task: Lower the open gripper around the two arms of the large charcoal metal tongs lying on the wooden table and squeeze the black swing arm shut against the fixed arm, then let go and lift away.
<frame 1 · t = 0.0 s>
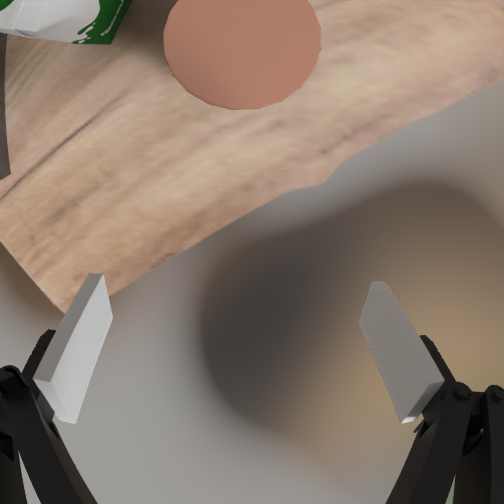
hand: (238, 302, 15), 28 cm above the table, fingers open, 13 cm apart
coffee jar: (237, 58, 33), on the table
milk carton: (99, 16, 28), on the table
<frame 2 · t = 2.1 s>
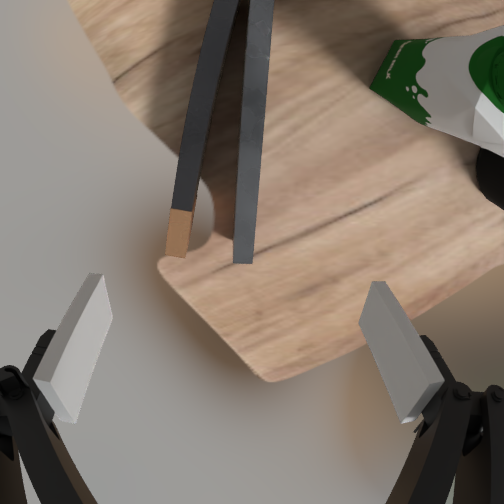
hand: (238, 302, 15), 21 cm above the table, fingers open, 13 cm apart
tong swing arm: (199, 121, 28), point 3 cm above the table, hinge at -9.0°
coffee jar: (496, 164, 34), on the table
milk carton: (405, 81, 29), on the table
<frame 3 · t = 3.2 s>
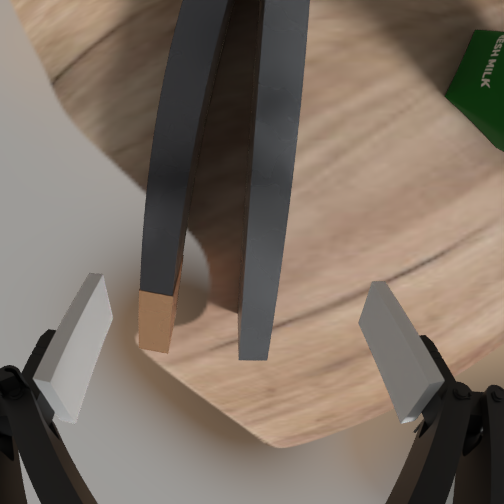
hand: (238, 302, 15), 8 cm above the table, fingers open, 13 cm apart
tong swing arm: (179, 145, 16), point 3 cm above the table, hinge at -9.0°
milk carton: (487, 90, 17), on the table
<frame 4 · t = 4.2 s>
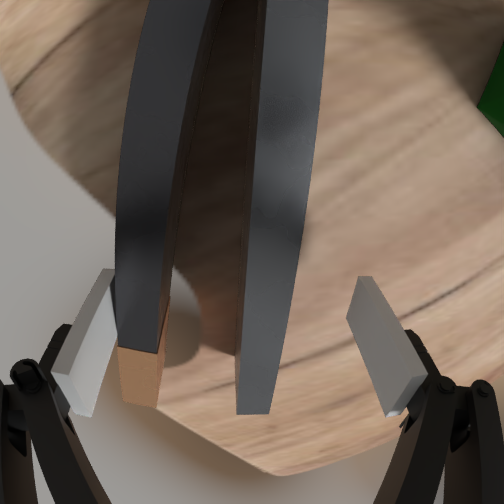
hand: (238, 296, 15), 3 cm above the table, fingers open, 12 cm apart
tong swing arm: (157, 171, 13), point 3 cm above the table, hinge at -9.0°, touching gripper
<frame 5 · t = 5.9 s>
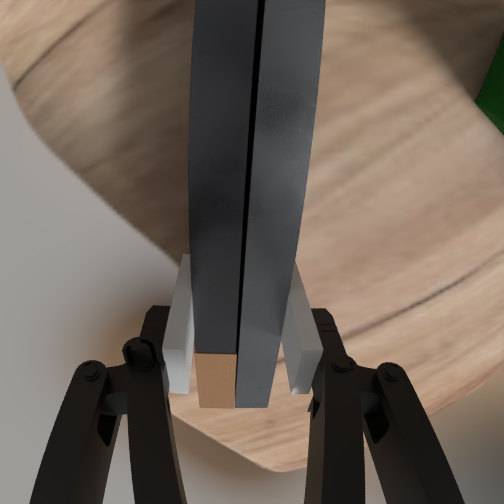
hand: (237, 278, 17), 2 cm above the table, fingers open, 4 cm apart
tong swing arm: (218, 173, 13), point 3 cm above the table, hinge at 0.3°, touching gripper
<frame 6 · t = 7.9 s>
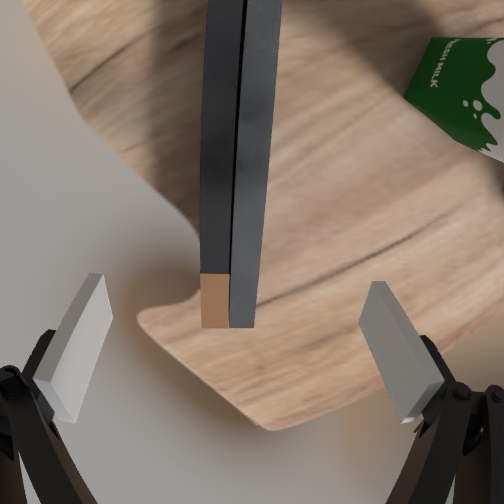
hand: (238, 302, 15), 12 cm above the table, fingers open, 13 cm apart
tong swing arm: (217, 150, 21), point 3 cm above the table, hinge at 0.3°
milk carton: (444, 90, 22), on the table
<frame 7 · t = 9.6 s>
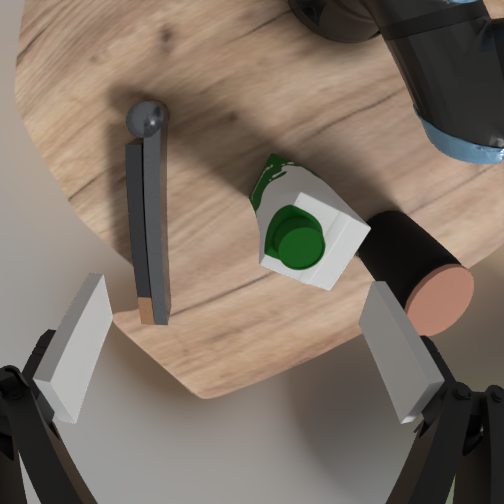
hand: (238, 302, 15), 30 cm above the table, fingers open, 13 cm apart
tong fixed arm: (152, 116, 37), on the table
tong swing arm: (142, 238, 43), point 3 cm above the table, hinge at 0.3°
coffee jar: (384, 237, 49), on the table
milk carton: (282, 186, 44), on the table
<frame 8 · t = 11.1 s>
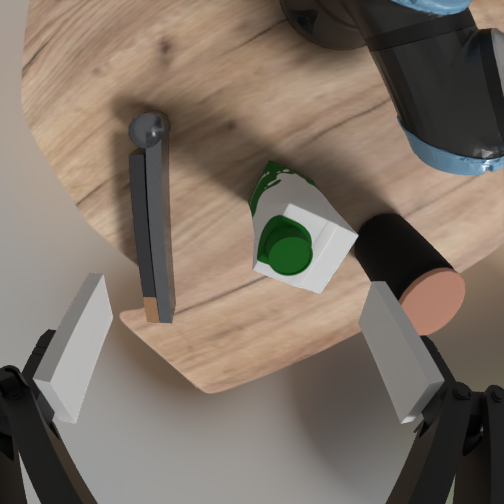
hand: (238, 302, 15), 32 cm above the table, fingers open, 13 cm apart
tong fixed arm: (154, 125, 40), on the table
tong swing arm: (147, 242, 45), point 3 cm above the table, hinge at 0.3°
coffee jar: (380, 239, 51), on the table
milk carton: (280, 190, 46), on the table
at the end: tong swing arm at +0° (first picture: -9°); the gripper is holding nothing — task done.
